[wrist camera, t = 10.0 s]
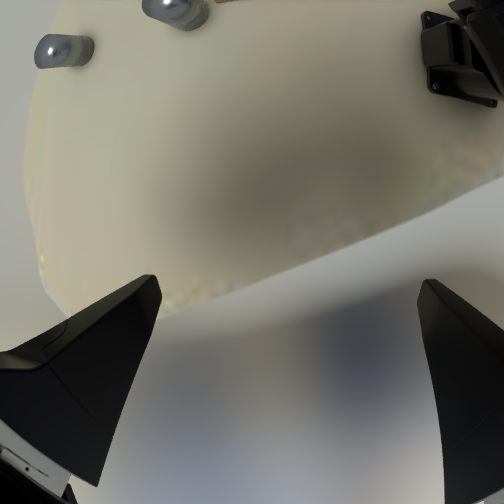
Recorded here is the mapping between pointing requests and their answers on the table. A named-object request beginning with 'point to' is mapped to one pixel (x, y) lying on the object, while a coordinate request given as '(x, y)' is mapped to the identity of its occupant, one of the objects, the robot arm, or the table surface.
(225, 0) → the wooden pad
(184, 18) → the posts
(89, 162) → the table surface
